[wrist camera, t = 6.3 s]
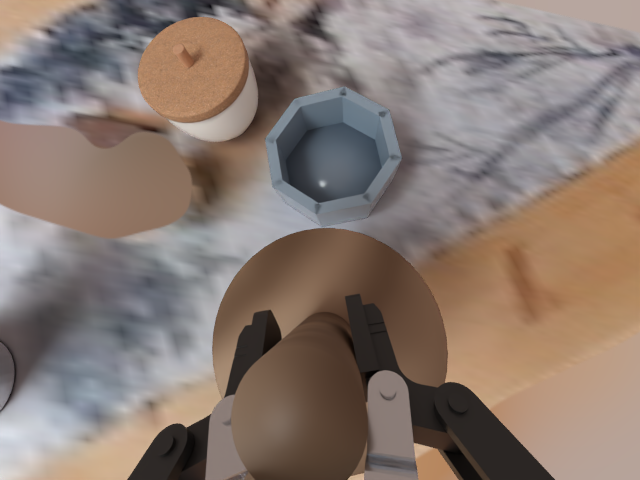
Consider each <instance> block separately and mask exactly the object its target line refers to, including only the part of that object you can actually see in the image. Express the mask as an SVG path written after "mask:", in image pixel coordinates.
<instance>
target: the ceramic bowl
mask: <svg viewBox="0 0 640 480" xmlns="http://www.w3.org/2000/svg"><path fill="white" fill-rule="evenodd" d="M265 141H266V147H267V154H268V160H269V167H270V173H271V179H272V186H273V188H274V189H275V190H276V192H277V193H278V194H279V196H280V197H281V198H282V199H283V201H284V202H285V203H286V204H288V205H289V206H291V207H292V208H294V209H295V210H297V211H298V212H300V213H301V214H303V215H304V216H306V217H308V218H309V219H311V220H312V221H314V222H315V223H317V224H318V225H320V226H321V227H324V226H329V225H334V224H338V223H343V222H348V221H353V220H358V219H363V218H367V217H368V216H369V214H370V213H371V211H372V210H373V208H374V207H375V205H376V204H377V203H378V201H379V200H380V198H381V197H382V195H383V194H384V192H385V191H386V189H387V188H388V186H389V185H390V183H391V182H392V180H393V178H394V176H395V173H396V171H397V169H398V166H399V164H400V162H401V159H402V157H401V153H400V149H399V145H398V141H397V138H396V134H395V130H394V126H393V122H392V119H391V115H390V111H389V109H387V108H385V107H383V106H381V105H379V104H377V103H375V102H373V101H371V100H370V99H368V98H366V97H364V96H362V95H360V94H358V93H356V92H354V91H352V90H350V89H348V88H346V87H345V86H344V87H340V88H336V89H332V90H328V91H324V92H320V93H316V94H312V95H308V96H304V97H299V98H295V99H294V100H293V102H292V103H291V104H290V106H289V107H288V108H287V110H286V111H285V112H284V114H283V115H282V117H281V118H280V119H279V121H278V122H277V123H276V125H275V126H274V127H273V129H272V130H271V131H270V133H269V134H268V136H267V137H266V138H265Z"/></svg>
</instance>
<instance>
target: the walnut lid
mask: <svg viewBox="0 0 640 480" xmlns="http://www.w3.org/2000/svg"><path fill="white" fill-rule="evenodd" d="M354 294H360V296H361V300H362V304H363V305H365V304H371V303H374V304H375V305H376V306H377V307H378V309H379V310H380V311H381V313H382V316H383V319H384V323H385V326H386V329H387V332H388V335H389V338H390V341H391V344H392V348H393V351H394V354H395V357H396V360H397V363H398V366H399V368H400V370H401V372H402V373H403V374H404V375H405V376H406V377H407V378H408V379H410V380H411V381H413V382H415V383H418V384H422V385H427V386H433V387H439V386H440V385H442V384H444V383H445V379H446V373H447V358H448V351H447V339H446V333H445V328H444V324H443V319H442V317H441V314H440V311H439V308H438V305H437V303H436V301H435V299H434V297H433V295H432V293H431V291H430V289H429V288H428V286H427V285H426V283H425V282H424V280H423V279H422V277H421V276H420V275H419V273H418V272H417V271H416V270H415V269H414V268H413V266H412V265H411V264H410V263H409V262H408V261H406V260H405V259H404V258H403V257H402V256H401V255H400V254H399V253H397V252H396V251H394V250H393V249H391V248H390V247H389V246H387V245H385V244H384V243H382V242H380V241H378V240H376V239H374V238H372V237H369V236H366V235H364V234H361V233H358V232H353V231H349V230H344V229H335V228H317V229H311V230H304V231H300V232H297V233H293V234H290V235H287V236H285V237H283V238H280V239H278V240H276V241H274V242H273V243H271V244H269V245H268V246H266V247H264V248H263V249H262V250H260V251H259V252H258V253H257V254H255V255H254V256H253V257H252V258H251V259H250V260H249V261H248V262H247V263H246V264H245V265H244V266H243V267H242V268H241V270H240V271H239V272H238V273H237V275H236V276H235V277H234V279H233V280H232V282H231V284H230V285H229V287H228V289H227V291H226V293H225V295H224V297H223V299H222V302H221V304H220V307H219V310H218V314H217V317H216V321H215V327H214V332H213V346H212V351H213V366H214V372H215V377H216V382H217V385H218V388H219V392H220V395H221V397H222V399H223V398H224V396H225V393H226V389H227V384H228V380H229V376H230V372H231V367H232V363H233V359H234V354H235V350H236V346H237V341H238V337H239V335H240V333H241V332H242V330H243V328H244V327H245V326H246V325H252V320H253V315H254V313H255V312H259V311H265V310H271V311H272V312H273V314H274V317H275V319H276V321H277V323H278V325H279V327H280V330H281V335H282V340H281V341H279V342H278V343H277V344H276V345H275V346H274V347H273V348H271V349H270V350H269V351H268V352H267V353H266V354H264V355H263V356H262V357H261V358H260V359H259V360H258V361H256V362H255V363H254V364H253V365H252V366H251V367H250V368H249V370H248V371H247V372H246V374H245V375H244V377H243V378H242V380H241V382H240V384H239V386H238V388H237V391H236V393H235V397H234V400H233V405H232V413H231V427H232V435H233V440H234V444H235V447H236V450H237V452H238V455H239V457H240V459H241V461H242V463H243V464H244V466H245V468H246V469H247V470H248V472H249V473H250V474H251V476H252V477H253V478H254V479H255V480H347V479H348V478H349V477H350V476H353V475H357V474H361V473H365V460H366V455H367V436H368V415H367V411H368V402H365V396H364V390H363V384H362V378H361V375H360V371H359V368H358V366H357V361H356V355H355V350H354V344H353V339H352V333H351V328H350V322H349V317H348V311H347V306H346V301H345V296H348V295H354Z"/></svg>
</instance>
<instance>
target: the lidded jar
mask: <svg viewBox="0 0 640 480" xmlns="http://www.w3.org/2000/svg"><path fill="white" fill-rule="evenodd" d="M138 83H139V88H140V91H141V94H142V96H143V97H144V99H145V101H146V102H147V103H148V104H149V105H150V106H151V107H152V108H153V109H154V110H155V111H156V112H158V113H159V114H160V115H161V116H163V117H165V118H166V119H167V120H168V121H169V122H171V123H172V124H173V125H174V126H176V127H177V128H178V129H180V130H181V131H183V132H185V133H187V134H188V135H190V136H192V137H194V138H197V139H200V140H203V141H208V142H222V141H227V140H231V139H234V138H236V137H238V136H240V135H241V134H242V133H244V132H245V130H246V129H247V128H248V127H249V125H250V124H251V122H252V121H253V119H254V116H255V114H256V110H257V106H258V88H257V82H256V78H255V74H254V71H253V68H252V65H251V63H250V61H249V58H248V54H247V51H246V48H245V46H244V44H243V41H242V39H241V38H240V36H239V35H238V33H237V32H236V31H235V30H234V29H233V28H232V27H230V26H229V25H227V24H226V23H224V22H222V21H220V20H217V19H213V18H208V17H194V18H189V19H185V20H182V21H179V22H177V23H174V24H172V25H170V26H169V27H167V28H166V29H164V30H163V31H162V32H160V33H159V34H158V35H157V36H156V37H155V38H154V39H153V40H152V41H151V42H150V44H149V45H148V47H147V48H146V50H145V52H144V53H143V55H142V58H141V61H140V64H139V69H138Z"/></svg>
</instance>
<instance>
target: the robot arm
mask: <svg viewBox="0 0 640 480" xmlns="http://www.w3.org/2000/svg"><path fill="white" fill-rule="evenodd" d="M345 301H346V306H347V311H348V317H349V322H350V328H351V333H352V339H353V344H354V350H355V355H356V361H357V366H358V368H359V371H360V375H361V378H362V384H363V390H364V396H365V402H368V411H367V415H368V436H367V455H366V460H365V473H364V480H418V473H417V467H416V461H415V452H414V443H418V444H421V445H425V446H429V447H433V448H436V449H438V450H439V452H440V453H441V455H442V456H443V458H444V459H445V460H446V462H447V463H448V465H449V466H450V468H451V469H452V471H453V472H454V474H455V475H456V476H457V478H458V479H459V480H555V479H554V478H553V477H552V476H551V475H550V474H549V473H548V472H547V471H546V470H545V469H544V467H542V465H541V464H540V463H539V462H538V461H537V460H536V459H535V458H534V457H533V456H532V455H531V454H530V453H529V452H528V450H527V449H526V448H525V447H524V446H523V445H522V444H521V443H520V442H519V441H518V440H517V439H516V438H515V437H514V435H513V434H512V433H511V432H510V431H509V430H508V429H507V428H506V427H505V426H504V425H503V424H502V423H501V422H500V421H499V420H498V418H497V417H496V416H495V415H494V414H493V413H492V412H491V411H490V410H489V409H488V408H487V407H486V406H485V405H484V404H483V402H482V401H481V400H480V399H479V398H478V397H477V396H476V395H475V394H474V393H473V392H472V391H471V390H470V389H468V388H467V387H465V386H464V385H461V384H459V383H455V382H447V383H444V384H442V385H440V386H439V387H433V386H427V385H422V384H418V383H415V382H413V381H411V380H410V379H408V378H407V377H406V376H405V375H404V374H403V373H402V372H401V370H400V368H399V366H398V363H397V360H396V357H395V354H394V351H393V348H392V344H391V341H390V338H389V335H388V332H387V329H386V326H385V323H384V319H383V316H382V313H381V311H380V310H379V309H378V307H377V306H376V305H375V304H374V303H371V304H365V305H363V304H362V300H361V296H360V294H354V295H348V296H345ZM281 340H282V335H281V330H280V327H279V325H278V323H277V321H276V319H275V317H274V314H273V312H272V311H271V310H265V311H259V312H255V313H254V315H253V320H252V325H246V326H245V327H244V328H243V330H242V332H241V333H240V335H239V337H238V341H237V346H236V350H235V354H234V359H233V363H232V367H231V372H230V376H229V380H228V384H227V389H226V393H225V396H224V398H223V399H222V400H221V401H220V402H219V403H218V404H217V405H216V407H215V408H214V410H213V411H212V414H210V415H209V416H207V417H206V418H204V419H202V420H200V421H198V422H196V423H194V424H193V425H191V426H189V427H187V428H186V427H185V426H183V425H182V424H172V425H170V426H168V427H166V428H165V429H163V430H162V431H161V432H160V433H159V434H158V435H157V436H156V438H155V439H154V440H153V442H152V443H151V445H150V446H149V448H148V449H147V451H146V452H145V454H144V455H143V457H142V458H141V460H140V461H139V463H138V465H137V466H136V468H135V469H134V471H133V472H132V474H131V475H130V477H129V478H128V480H255V479H254V478H253V477H252V476H251V474H250V473H249V472H248V470H247V469H246V468H245V466H244V464H243V463H242V461H241V459H240V457H239V455H238V452H237V450H236V447H235V444H234V440H233V435H232V427H231V413H232V405H233V400H234V397H235V393H236V391H237V388H238V386H239V384H240V382H241V380H242V378H243V377H244V375H245V374H246V372H247V371H248V370H249V368H250V367H251V366H252V365H253V364H254V363H255V362H256V361H258V360H259V359H260V358H261V357H262V356H263V355H264V354H266V353H267V352H268V351H269V350H270V349H271V348H273V347H274V346H275V345H276V344H277V343H278V342H279V341H281ZM14 373H15V371H14V362H13V359H12V356H11V354H10V352H9V350H8V349H7V348H6V347H5V346H4V345H3V344H2V343H1V342H0V410H1V409H2V408H3V406H4V405H5V403H6V402H7V400H8V398H9V395H10V393H11V391H12V387H13V383H14Z"/></svg>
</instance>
